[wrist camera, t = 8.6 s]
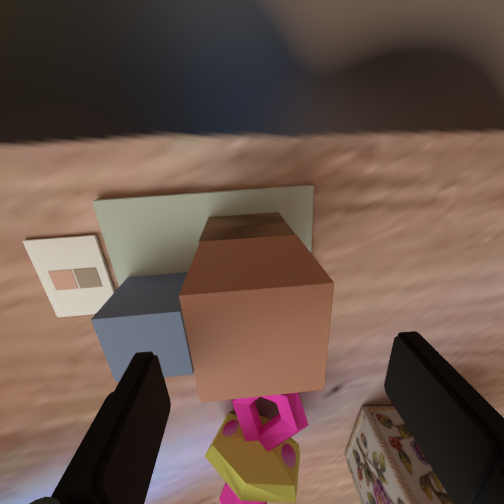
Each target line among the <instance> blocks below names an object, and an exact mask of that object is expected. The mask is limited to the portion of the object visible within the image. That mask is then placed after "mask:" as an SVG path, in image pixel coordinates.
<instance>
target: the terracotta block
mask: <svg viewBox="0 0 504 504" xmlns="http://www.w3.org/2000/svg"><path fill="white" fill-rule="evenodd" d="M333 290H334V282H333V281H332V279H331V278H330V277H329V276H328V274H327V273H326V272H325V270H324V269H323V268H322V267H321V265H320V264H319V263H318V261H317V260H316V259H315V258H314V256H313V255H312V254H311V252H310V251H309V250H308V249H307V247H306V246H305V245H304V243H303V242H302V241H301V240H300V238H299V237H298V236H297V235H283V236H270V237H256V238H242V239H229V240H215V241H201V242H200V243H199V245H198V248H197V250H196V253H195V256H194V258H193V261H192V263H191V266H190V268H189V271H188V274H187V276H186V279H185V281H184V284H183V286H182V289H181V292H180V294H179V299H180V304H181V309H182V314H183V319H184V324H185V328H186V333H187V338H188V343H189V348H190V353H191V358H192V363H193V368H194V373H195V378H196V383H197V388H198V393H199V398H200V402H211V401H220V400H230V399H240V398H249V397H259V396H269V395H278V394H288V393H298V392H308V391H317V390H324V385H325V375H326V364H327V354H328V343H329V332H330V322H331V311H332V301H333Z"/></svg>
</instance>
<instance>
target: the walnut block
mask: <svg viewBox="0 0 504 504" xmlns="http://www.w3.org/2000/svg"><path fill="white" fill-rule="evenodd" d="M283 235H295V233H294V232H293V230H292V229H291V228H290V226H289V225H288V224H287V222H286V221H285V220H284V219H283V217H282V216H281V215H280V213H279V212H273V213H260V214H246V215H232V216H219V217H208V219H207V222H206V224H205V227H204V229H203V232H202V234H201V237H200V239H199V243H200V242H201V241H215V240H229V239H242V238H256V237H270V236H283Z"/></svg>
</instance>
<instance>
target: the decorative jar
mask: <svg viewBox="0 0 504 504" xmlns="http://www.w3.org/2000/svg"><path fill="white" fill-rule="evenodd" d="M345 458H346V462H347V465H348V468H349V471H350V474H351V476H352V479H353V482H354V485H355V487H356V490H357V493H358V495H359V498H360V501H361V503H362V504H454V503H453V502H452V500H451V499H450V497H449V496H448V494H447V492H446V491H445V489H444V487H443V486H442V484H441V482H440V481H439V479H438V478H437V476H436V474H435V473H434V471H433V469H432V468H431V466H430V464H429V463H428V461H427V459H426V458H425V456H424V455H423V453H422V451H421V450H420V448H419V446H418V445H417V443H416V441H415V440H414V438H413V436H412V435H411V433H410V432H409V430H408V428H407V427H406V425H405V423H404V422H403V420H402V418H401V417H400V415H399V414H398V412H397V410H396V409H395V407H394V405H393V406H363V407H362V409H361V411H360V414H359V417H358V419H357V421H356V424H355V427H354V430H353V432H352V435H351V438H350V441H349V444H348V447H347V450H346V452H345Z"/></svg>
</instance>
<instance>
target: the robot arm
mask: <svg viewBox="0 0 504 504" xmlns="http://www.w3.org/2000/svg"><path fill="white" fill-rule="evenodd" d="M384 387H385V391H386V394H387V395H388V397H389V399H390V400H391V402H392V404H393V405H394V407H395V409H396V410H397V412H398V414H399V415H400V417H401V418H402V420H403V422H404V423H405V425H406V427H407V428H408V430H409V432H410V433H411V435H412V436H413V438H414V440H415V441H416V443H417V445H418V446H419V448H420V450H421V451H422V453H423V455H424V456H425V458H426V459H427V461H428V463H429V464H430V466H431V468H432V469H433V471H434V473H435V474H436V476H437V478H438V479H439V481H440V482H441V484H442V486H443V487H444V489H445V491H446V492H447V494H448V496H449V497H450V499H451V500H452V502H453V503H454V504H504V418H503V417H502V416H501V415H500V414H499V413H498V412H497V411H496V410H495V409H494V408H493V407H492V406H491V405H490V404H489V403H488V402H487V401H486V400H485V399H484V398H483V397H482V396H481V395H480V394H479V393H478V392H477V391H476V390H475V389H474V388H473V387H472V386H471V385H470V384H469V383H468V382H467V381H466V380H465V379H464V378H463V377H462V376H461V375H460V374H459V373H458V372H457V371H456V370H455V369H454V368H453V367H452V366H451V365H450V364H449V363H448V362H447V361H446V360H445V359H444V358H443V357H442V356H441V355H440V354H439V353H438V352H437V351H436V350H435V349H434V348H433V347H432V346H431V345H430V344H429V343H428V342H427V341H426V340H425V339H424V338H423V337H422V336H421V335H420V334H419V333H418V332H415V331H413V332H401V333H399V334H398V336H397V337H395V338H394V342H393V347H392V351H391V356H390V360H389V365H388V370H387V374H386V379H385V383H384ZM170 407H171V403H170V398H169V395H168V391H167V387H166V384H165V380H164V376H163V373H162V369H161V366H160V362H159V358H158V356H157V355H154V354H153V352H152V351H150V352H137V353H135V354H134V356H133V358H132V359H131V361H130V363H129V365H128V367H127V369H126V370H125V372H124V374H123V376H122V378H121V380H120V382H119V383H118V385H117V387H116V389H115V391H114V392H111V393H110V394H109V395H108V396H107V398H106V399H105V401H104V403H103V404H102V406H101V408H100V410H99V412H98V413H97V415H96V417H95V419H94V421H93V422H92V424H91V426H90V428H89V430H88V431H87V433H86V435H85V437H84V439H83V440H82V442H81V444H80V446H79V447H78V449H77V451H76V453H75V455H74V456H73V458H72V460H71V462H70V464H69V465H68V467H67V469H66V471H65V473H64V474H63V476H62V478H61V480H60V482H59V483H58V485H57V487H56V489H55V491H54V492H53V494H52V496H51V497H43V498H40V499H37V500H35V501H33V502H31V503H30V504H144V502H145V499H146V495H147V492H148V488H149V484H150V481H151V477H152V474H153V470H154V466H155V463H156V459H157V456H158V452H159V449H160V445H161V441H162V438H163V434H164V431H165V427H166V424H167V420H168V416H169V413H170Z"/></svg>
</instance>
